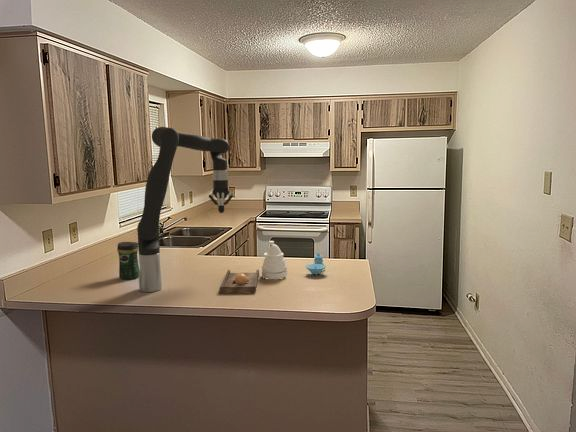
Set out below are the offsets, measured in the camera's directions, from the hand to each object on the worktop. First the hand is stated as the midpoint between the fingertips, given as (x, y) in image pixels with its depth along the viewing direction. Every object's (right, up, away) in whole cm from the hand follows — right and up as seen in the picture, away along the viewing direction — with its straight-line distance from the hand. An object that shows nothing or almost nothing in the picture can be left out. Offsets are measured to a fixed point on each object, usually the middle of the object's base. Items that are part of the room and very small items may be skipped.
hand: (221, 212), depth 225 cm
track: (+11, -34, -14) cm, 39 cm away
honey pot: (+27, -33, -2) cm, 43 cm away
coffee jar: (-47, -33, -2) cm, 57 cm away
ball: (+12, -32, -18) cm, 39 cm away
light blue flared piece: (+49, -32, +4) cm, 59 cm away
